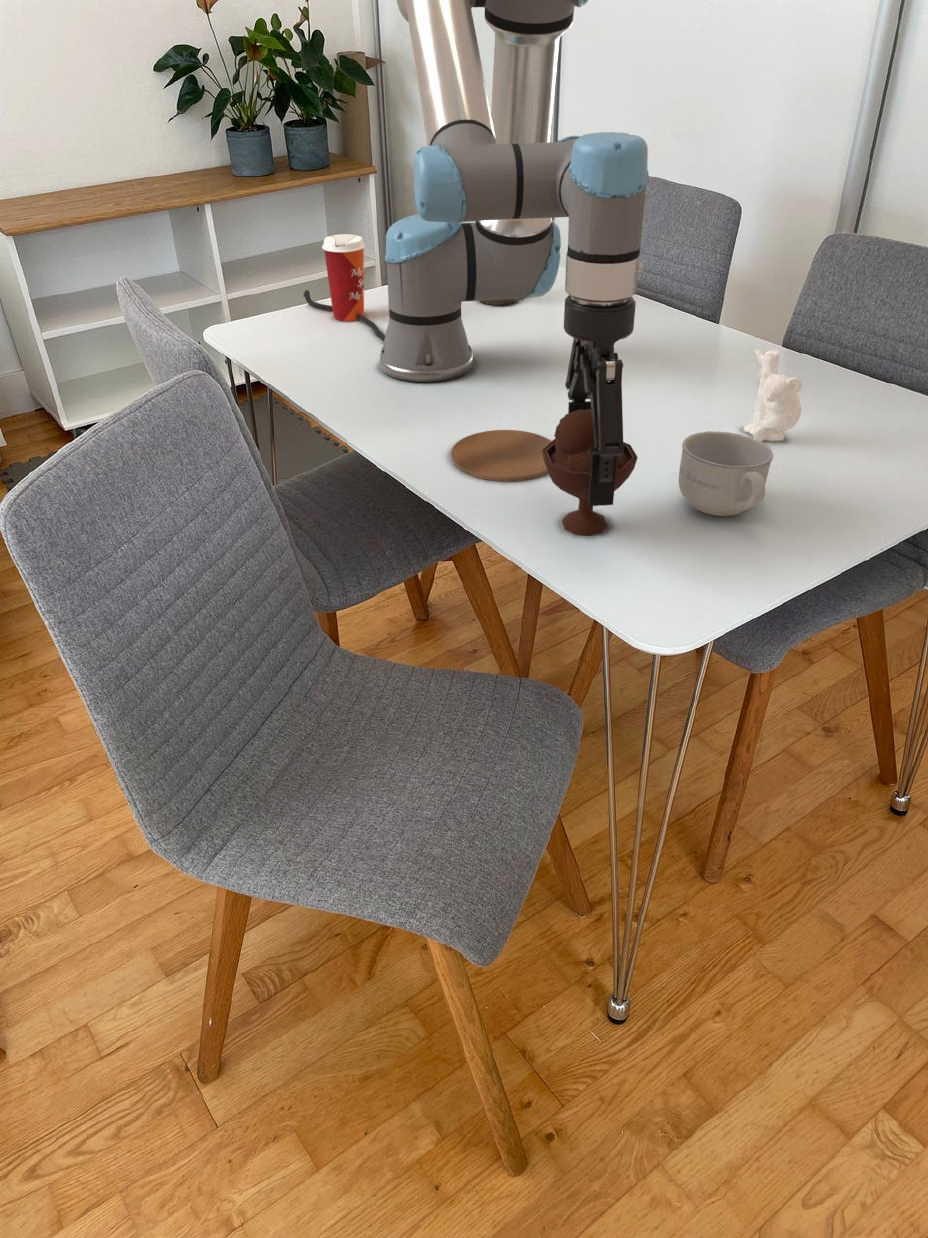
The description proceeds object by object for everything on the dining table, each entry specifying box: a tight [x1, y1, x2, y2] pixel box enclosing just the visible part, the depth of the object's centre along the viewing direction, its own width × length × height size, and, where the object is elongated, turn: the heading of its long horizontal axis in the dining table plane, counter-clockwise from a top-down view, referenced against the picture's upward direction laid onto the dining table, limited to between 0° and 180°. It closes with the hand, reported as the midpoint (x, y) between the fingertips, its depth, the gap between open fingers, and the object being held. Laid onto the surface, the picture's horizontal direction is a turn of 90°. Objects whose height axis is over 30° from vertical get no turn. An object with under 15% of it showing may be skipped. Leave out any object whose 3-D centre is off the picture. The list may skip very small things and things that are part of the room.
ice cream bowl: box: [542, 409, 638, 537], centre depth 118 cm, size 11×11×15 cm
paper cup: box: [321, 233, 366, 322], centre depth 183 cm, size 8×8×14 cm
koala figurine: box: [742, 348, 802, 442], centre depth 139 cm, size 8×7×12 cm
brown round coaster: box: [450, 429, 553, 482], centre depth 138 cm, size 15×15×1 cm
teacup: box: [678, 430, 774, 517], centre depth 123 cm, size 14×11×8 cm
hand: (588, 477), depth 119 cm, fingers open, 13 cm apart
